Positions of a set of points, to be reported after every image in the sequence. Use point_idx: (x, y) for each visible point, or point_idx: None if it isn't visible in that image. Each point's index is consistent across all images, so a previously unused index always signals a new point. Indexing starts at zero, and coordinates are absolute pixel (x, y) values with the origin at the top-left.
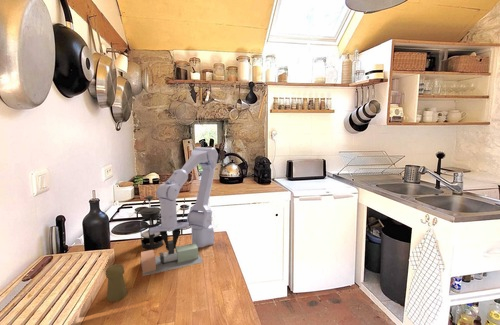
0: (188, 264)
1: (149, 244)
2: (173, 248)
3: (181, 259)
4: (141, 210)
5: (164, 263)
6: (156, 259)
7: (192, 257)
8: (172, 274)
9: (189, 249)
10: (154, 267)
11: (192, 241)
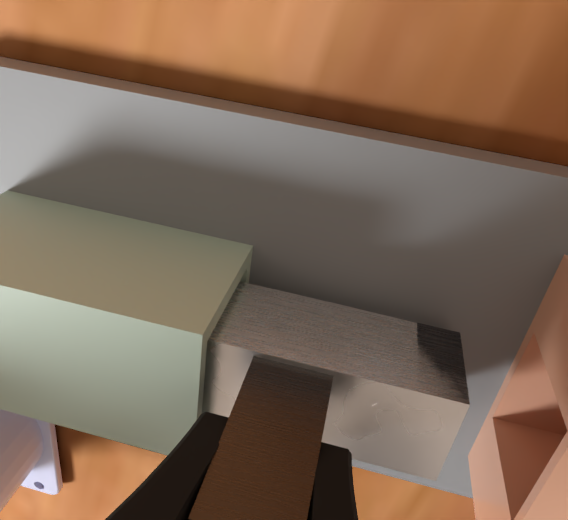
0: (146, 119)
1: None
2: (237, 420)
3: (197, 249)
4: None
5: None
6: None
7: (62, 217)
8: (403, 60)
9: (14, 287)
10: None
11: (7, 475)
